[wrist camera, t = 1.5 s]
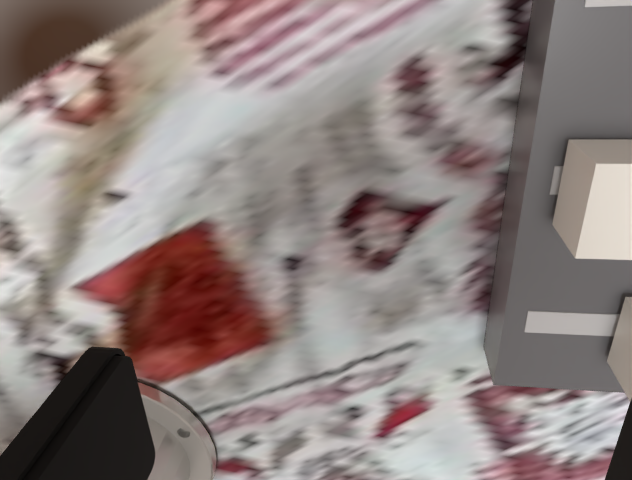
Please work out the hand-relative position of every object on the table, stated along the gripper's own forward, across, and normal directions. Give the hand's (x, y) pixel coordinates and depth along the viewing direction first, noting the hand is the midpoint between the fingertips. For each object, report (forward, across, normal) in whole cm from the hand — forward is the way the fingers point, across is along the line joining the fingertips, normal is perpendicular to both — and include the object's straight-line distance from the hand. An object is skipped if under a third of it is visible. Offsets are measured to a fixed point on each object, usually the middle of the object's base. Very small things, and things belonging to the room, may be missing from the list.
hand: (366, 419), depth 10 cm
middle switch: (+13, -9, 0) cm, 16 cm away
